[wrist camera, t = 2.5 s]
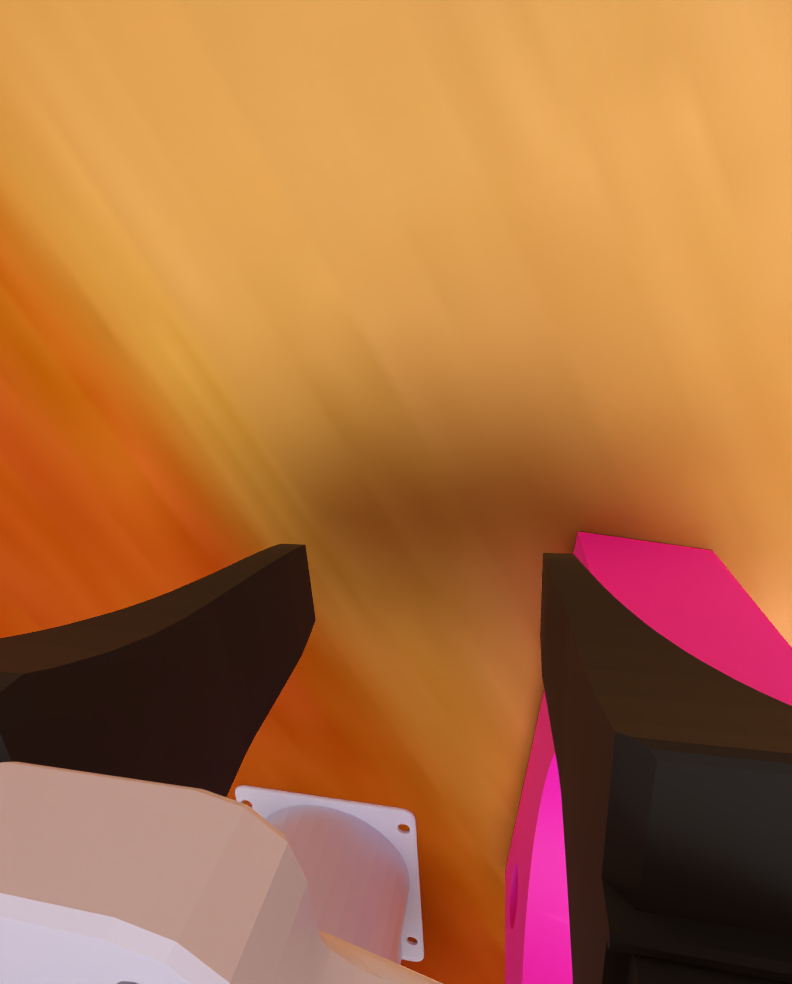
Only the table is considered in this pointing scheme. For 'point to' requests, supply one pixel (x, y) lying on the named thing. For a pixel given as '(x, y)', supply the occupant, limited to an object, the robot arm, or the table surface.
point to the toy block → (539, 824)
